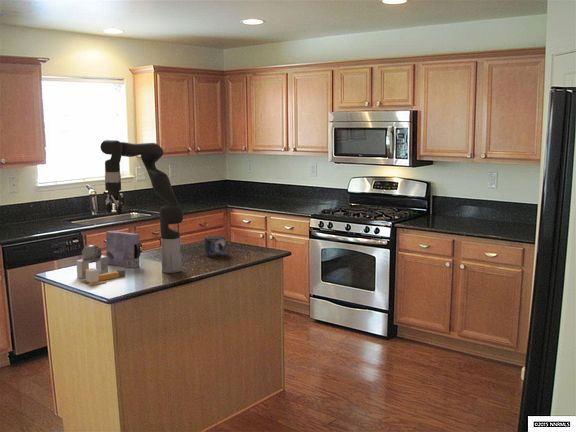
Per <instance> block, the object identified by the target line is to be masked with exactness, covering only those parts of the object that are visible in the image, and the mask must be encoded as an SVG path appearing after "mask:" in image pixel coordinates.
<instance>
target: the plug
mask: <svg viewBox="0 0 576 432" xmlns="http://www.w3.org/2000/svg"><path fill="white" fill-rule="evenodd" d="M125 276H126V270H125V269H122V268H120V269H116V270H115V271H110V272H109V271H108V273H104V274H98V270H97V269H96V268H94V267H93V268H89V269H86V278H85V280H86V281H87V282H90V283H93V282H98V281H100V280H102V281H105V280H109V279H114V278H115V279H116V278H122V277H125Z"/></svg>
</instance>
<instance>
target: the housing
mask: <svg viewBox="0 0 576 432" xmlns="http://www.w3.org/2000/svg"><path fill="white" fill-rule="evenodd" d="M81 257H82V258H81V259H77V260H76V277H77V278H78V279H82V280H86V269H90V265H89V264H94V263H95V269H97V270H98V274H104V273H109V268H108V267H109V266H108V265H109V264H108V263H107V256H106V255H102V249H101V248H100V247H99V246H97V245H94V244H87V245H85V246H84V247H83V248H82V250H81Z"/></svg>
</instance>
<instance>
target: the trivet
mask: <svg viewBox="0 0 576 432" xmlns="http://www.w3.org/2000/svg"><path fill="white" fill-rule="evenodd" d="M80 282H81V283H83V284H85V285H89V286H92V287H95V286H99V285H103V284H104V285H105V284H107V281H105V280H100V281H98V282H93V283H90V282H87V281H86V279H82V280H81V281H80Z"/></svg>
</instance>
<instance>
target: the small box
mask: <svg viewBox="0 0 576 432" xmlns="http://www.w3.org/2000/svg"><path fill="white" fill-rule="evenodd" d="M204 256H205V257H207V258H213V257H226V237H225V236H223V235H216V236H215V235H214V236H213V235H212V236H204Z"/></svg>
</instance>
